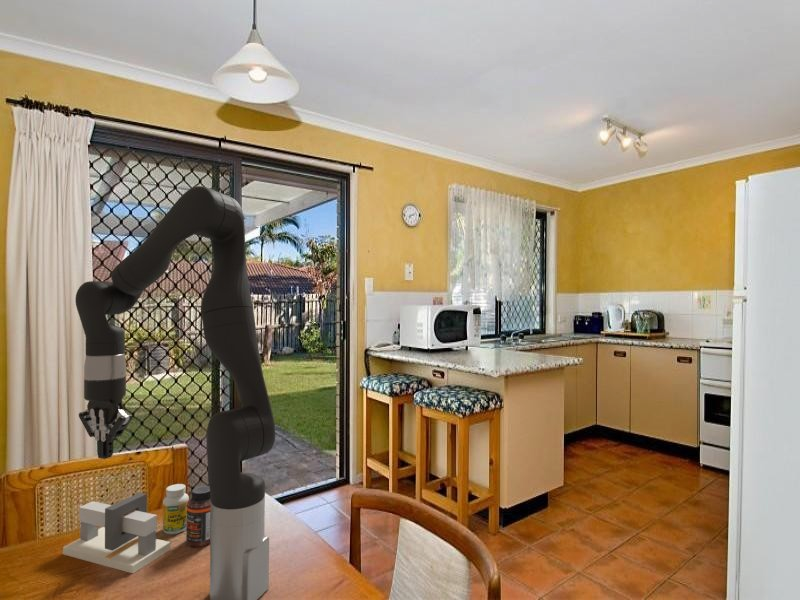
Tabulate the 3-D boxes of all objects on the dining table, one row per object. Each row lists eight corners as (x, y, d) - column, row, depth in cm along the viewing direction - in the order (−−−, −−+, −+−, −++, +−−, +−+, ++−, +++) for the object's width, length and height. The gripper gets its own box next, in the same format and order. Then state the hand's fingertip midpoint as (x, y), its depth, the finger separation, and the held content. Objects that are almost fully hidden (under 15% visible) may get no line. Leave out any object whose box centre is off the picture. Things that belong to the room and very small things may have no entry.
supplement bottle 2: (179, 545, 98) (180, 493, 98) (198, 531, 104) (198, 482, 104) (204, 549, 97) (204, 496, 97) (221, 535, 103) (222, 485, 103)
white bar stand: (170, 549, 97) (170, 508, 97) (133, 573, 89) (133, 528, 88) (103, 533, 103) (104, 494, 103) (62, 554, 95) (63, 512, 95)
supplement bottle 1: (186, 521, 109) (187, 480, 109) (190, 530, 105) (191, 488, 105) (161, 527, 106) (161, 485, 106) (164, 537, 102) (164, 494, 102)
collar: (146, 531, 98) (146, 493, 98) (112, 550, 91) (112, 510, 91) (139, 529, 99) (139, 492, 99) (104, 548, 92) (105, 508, 91)
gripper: (144, 374, 99) (144, 455, 99) (98, 371, 103) (98, 448, 103) (112, 380, 92) (112, 467, 92) (65, 376, 96) (65, 459, 96)
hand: (105, 457), depth 98 cm, fingers closed
